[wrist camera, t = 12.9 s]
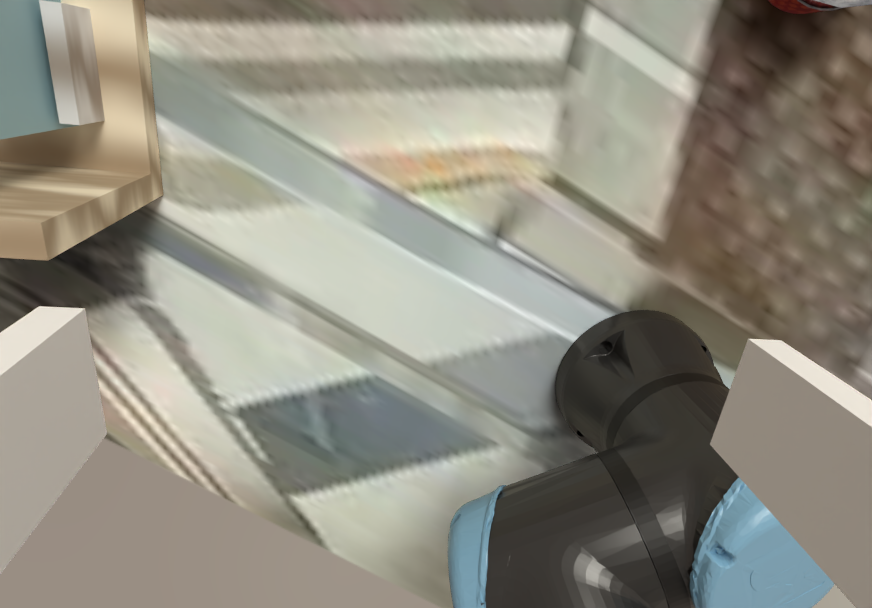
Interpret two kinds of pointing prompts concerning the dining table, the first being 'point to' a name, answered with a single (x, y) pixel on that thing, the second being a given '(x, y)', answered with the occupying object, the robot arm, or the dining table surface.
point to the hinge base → (84, 133)
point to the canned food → (815, 5)
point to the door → (25, 72)
